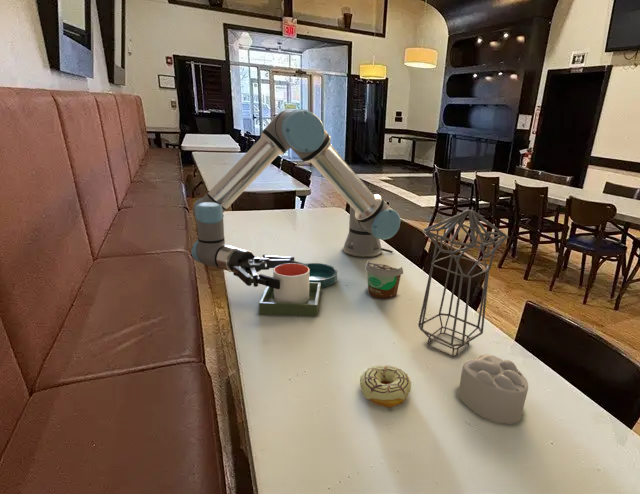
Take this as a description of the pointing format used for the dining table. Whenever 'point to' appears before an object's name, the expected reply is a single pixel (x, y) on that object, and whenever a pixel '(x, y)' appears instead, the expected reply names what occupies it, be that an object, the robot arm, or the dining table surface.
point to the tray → (293, 309)
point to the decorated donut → (385, 385)
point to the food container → (382, 280)
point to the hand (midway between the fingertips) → (294, 276)
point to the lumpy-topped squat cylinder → (493, 388)
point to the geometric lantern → (459, 220)
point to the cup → (292, 283)
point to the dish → (322, 274)
